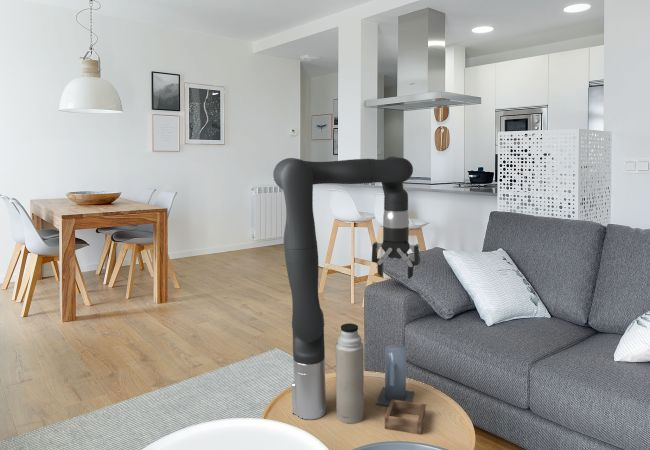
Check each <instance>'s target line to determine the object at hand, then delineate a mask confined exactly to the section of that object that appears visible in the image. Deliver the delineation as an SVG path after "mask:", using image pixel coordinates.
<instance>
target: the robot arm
mask: <svg viewBox="0 0 650 450" xmlns="http://www.w3.org/2000/svg"><path fill="white" fill-rule="evenodd" d="M413 172H414V167H413V164H412V162H410V160H409V159H406V158H404V157H398V156H388V157H386V158H385V159H383V158H382V159H376V158H357V159H356V158H354V159H344V160H333V161H308V160H304V159H301V158H295V157H288V158H284V159H282V160H281V161H279V162H278V163H277V164H276V165H275V166H274V169H273V174H272V176H273V177H272V178H273V179H274V183H275V184H276V185H277V186H278V188H280V189H281V190H282V191H283V196H284V201H285V208H286V209H285V210H286V218H285V219H286V220H285V225H284V226H285V227H284V232H283V251H284V259H285V267H286V272H287V278H288V282H289V288H290V293H291V299H292V300H291V301H292V316H291V328H292V359H293V364H292V365H293V382H292V384H291V400H292V401H291V402H292V403H291V407H292V410H291V411H292V414H293V413H294V414H293V415H295V414H296V415H295V416H297V417H298V416H299V417H298V418H300V419H302V418H303V420H316V419H320V418H321V417H323V416H324V415H326V413H327V411H326V410H327V404H326V403H327V400H326V399H327V398H326V397H327V396H326V358H325V356H326V354H325V353H326V352H325V351H326V349H325V318H324V311H323V310H322V308H321V304H320V300H319V299H320V298H319V273H320V272H319V271H320V270H319V250H318V249H319V248H318V241H317V235H316V234H317V232H316V222H315V218H314V217H315V216H314V204H313V203H314V202H313V201H314V199H313V196H314V195H313V194H314V193H313V191H314V189H313V188H314V185H321V184H322V185H323V184H327V185H328V184H329V185H330V184H333V185H334V184H336V185H337V184H339V185H361V184H374V183H381V187H382V191H383V194H384V197H383V198H384V199H383V218H382V220H383V221H382V228H383V229H382V242H378V241H374V242H373V243H372V245H371V246H372V249H371V262H372V263H375V264H377V274H378V275H379V277H381V278H382V277H383V276H384V263H383V262H385V260H386V259H387V257H388V258H389V259H397V260H398V259H403V261H404V262H405V263H406V264H407V265H408V267H407V279H408V280H409V279H411V278H412V277H413V276H414V267H416V266H419V264H420V262H421V260H420V259H421V257H420V254H421V253H420V245H419V244H418V243H416V244H410V243H409V234H410V233H409V227H410V226H409V225H410V217H409V195H408V192H407V190H405V189H404V187H403V183H404V182H406V181H408V180H409V179H410V178H411V177H412V175H413ZM380 249H382V250H383V252H384V254H383V255H382V256H381V257H379V258H378V254H379V253H378V252H379V250H380ZM409 250H411V252H412V253H413V254H414V255H413V256H414V260H413V259H412V258H411V255H409V253H408V251H409Z"/></svg>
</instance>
